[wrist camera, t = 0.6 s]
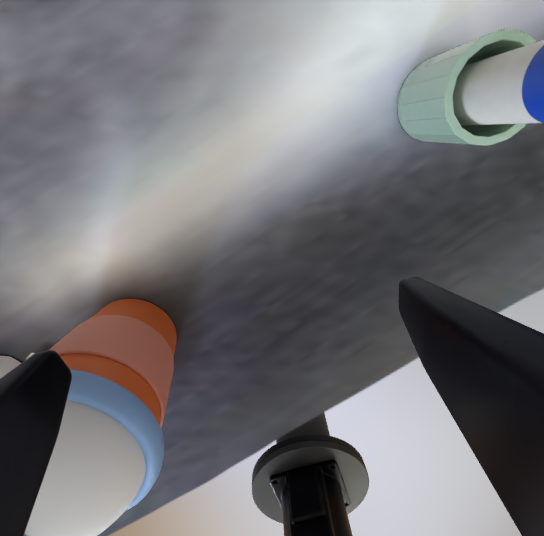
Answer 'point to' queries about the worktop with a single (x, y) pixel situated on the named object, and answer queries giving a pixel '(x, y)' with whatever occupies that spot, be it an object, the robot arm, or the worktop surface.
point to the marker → (502, 88)
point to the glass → (439, 93)
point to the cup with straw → (108, 419)
